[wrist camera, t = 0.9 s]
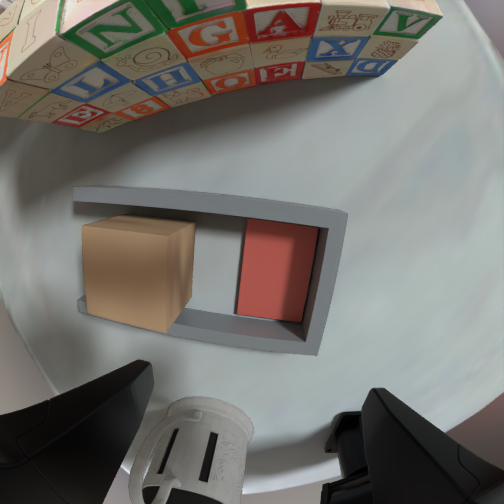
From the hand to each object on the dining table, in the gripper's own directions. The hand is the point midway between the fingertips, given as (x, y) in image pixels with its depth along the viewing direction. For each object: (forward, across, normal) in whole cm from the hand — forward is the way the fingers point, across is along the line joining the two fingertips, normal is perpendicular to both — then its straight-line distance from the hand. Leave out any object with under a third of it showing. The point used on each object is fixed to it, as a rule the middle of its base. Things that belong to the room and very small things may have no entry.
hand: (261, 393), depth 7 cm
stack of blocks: (+12, +5, -15) cm, 20 cm away
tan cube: (+12, +8, 0) cm, 15 cm away
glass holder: (+12, +4, +14) cm, 19 cm away
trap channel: (+12, +6, 0) cm, 13 cm away
